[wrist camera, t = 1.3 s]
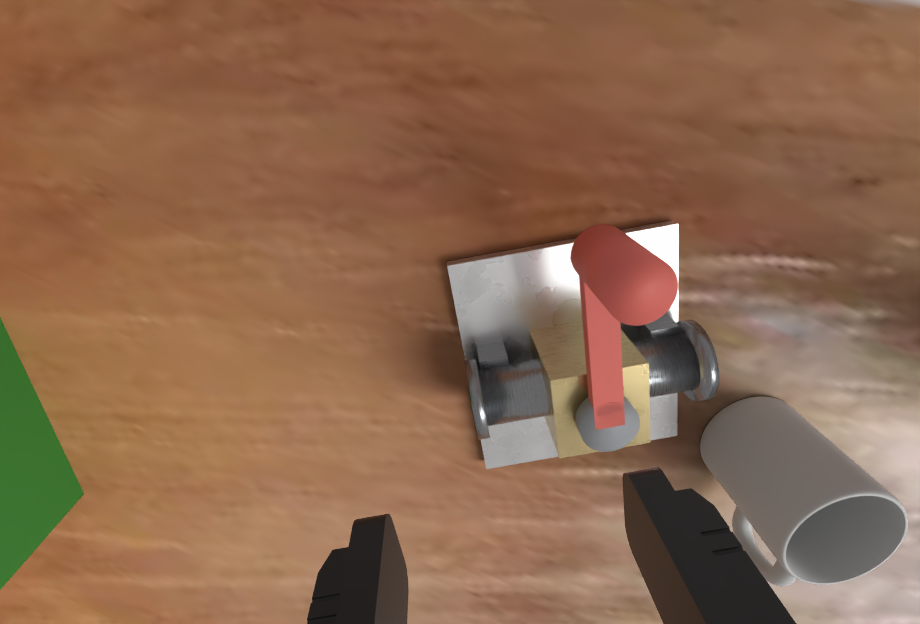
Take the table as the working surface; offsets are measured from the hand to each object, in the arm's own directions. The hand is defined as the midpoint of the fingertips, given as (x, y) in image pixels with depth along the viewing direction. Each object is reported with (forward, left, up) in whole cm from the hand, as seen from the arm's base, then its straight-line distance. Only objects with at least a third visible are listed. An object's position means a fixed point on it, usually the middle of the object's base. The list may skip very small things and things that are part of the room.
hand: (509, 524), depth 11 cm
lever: (-7, +6, -17) cm, 19 cm away
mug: (-21, +24, -26) cm, 41 cm away
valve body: (-7, +11, -25) cm, 29 cm away
